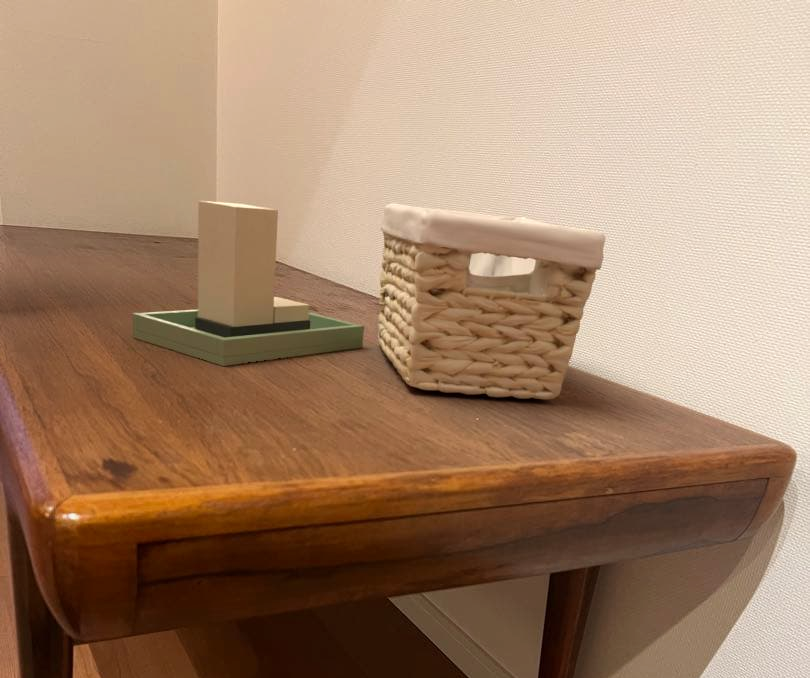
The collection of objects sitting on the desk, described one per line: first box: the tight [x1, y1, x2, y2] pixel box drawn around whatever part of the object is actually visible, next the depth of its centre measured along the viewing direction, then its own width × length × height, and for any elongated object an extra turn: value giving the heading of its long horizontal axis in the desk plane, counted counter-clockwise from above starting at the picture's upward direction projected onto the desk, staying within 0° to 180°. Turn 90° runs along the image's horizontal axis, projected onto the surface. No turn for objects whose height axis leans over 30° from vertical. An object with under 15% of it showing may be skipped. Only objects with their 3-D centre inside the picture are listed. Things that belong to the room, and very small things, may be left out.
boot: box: [195, 200, 310, 338], centre depth 76 cm, size 11×5×12 cm, turn 144°
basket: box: [377, 202, 606, 400], centre depth 75 cm, size 24×16×15 cm
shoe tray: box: [131, 309, 365, 367], centre depth 79 cm, size 13×20×2 cm, turn 144°
